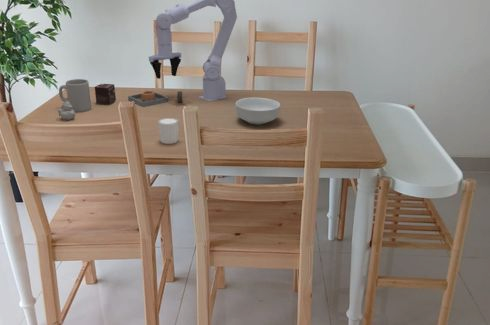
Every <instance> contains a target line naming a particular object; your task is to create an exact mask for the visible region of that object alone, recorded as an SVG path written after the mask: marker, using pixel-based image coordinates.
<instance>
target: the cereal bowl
mask: <svg viewBox="0 0 490 325" xmlns="http://www.w3.org/2000/svg"><path fill="white" fill-rule="evenodd" d="M234 105H235V112H236V115H237V117H239V119H240V120H241V119H242V120H243V121H245V122H246V123H248V124H250V125H265V124H268V123H269V122H270V123H271V122H272V121H274V120H275V119H277V117H278V116H279V114H280V111H281V103H280V102H279V101H277V100H274V99H271V98H266V97H265V98H264V97H253V96H252V97H244V98H240V99H238V100H237V101H236V102H235V104H234Z"/></svg>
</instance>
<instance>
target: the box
mask: <svg viewBox="0 0 490 325" xmlns="http://www.w3.org/2000/svg"><path fill="white" fill-rule="evenodd" d="M94 93H95V101H96V105H104V106H105V105H106V106H111V105H112V104H114V103H115V102H116V100H117V98H116V89H115V84H113V83H112V84H111V83H100V84H97V85H96V86H94Z"/></svg>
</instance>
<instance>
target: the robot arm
mask: <svg viewBox="0 0 490 325" xmlns="http://www.w3.org/2000/svg"><path fill="white" fill-rule="evenodd" d="M206 7H214V8H216V7H218V8H219V9H220V11H221V14H222V15H223V19H222V22H221V26H220V28H219V31H218V34H217V36H216V39H215V41H214V44H213V47H212V49H211V53H210V54H209V56H208V58H207V60H206V61H205V62H203V65H202V69H203V72H204V74H203V76H202V95H200V96H199V98H201V99H203V100H207V101H209V102H212V101H216V100H221V99H225V98H227V95H226V92H227V90H226V88H227V87H226V86H227V85H226V80H225V78H224V77H223V76H220V74H221V66H222V65H221V64H222V58H223V56H224V53H225V51H226V47H227V45H228V44H229V40H230V38H231V35H232V32H233V30H234V27H235V24H236V21H237V19H238V15H237V14H238V13H237V11H236V10H237V9H236V4H235V0H195V1H193V2H191V3H189V4H187V5H185V4H183V3H181V4H180V3H177V4H175V6H174V7H172V8H170V9H165V10H164V11H163V12H159V13H158V14H157V16H156V18H155V22H156V25H157V27H156V31H157V32H156V39H157V54H154V55H151V56H150V55H149V56H148V61H149V64H150V65H151V67H152V69H153V71H154V74H155V78H156V79H159V80H160V79H161V77H162V76H161V75H162V73H161V69H162V62H160V61H164V60H169V63H170V69H171V70H170V71H171V75H172V76H174V77H176V76H177V72H178V69H179V66H180V64H181V61H182V59H181V58H182V52H173V42H172V31H171V26H172V25H175V24H178V23H180V22H182V21H183V20H186V19H188V18H189V16H190V14H191V13H193V12H197V11H199V10H202V9H204V8H206Z"/></svg>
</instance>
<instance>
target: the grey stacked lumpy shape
mask: <svg viewBox="0 0 490 325" xmlns="http://www.w3.org/2000/svg"><path fill="white" fill-rule="evenodd" d="M71 108H72V105H71V104H70V103H69V102H68V101H67V99H66V101H65V102H64V101H63V103H62V104H61V108H58V109H57V112H58V116H59V117H61V119H62V120H67V121H71V120H73V119H74V118H75V117H76V112H74V110H73V109H71Z"/></svg>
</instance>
